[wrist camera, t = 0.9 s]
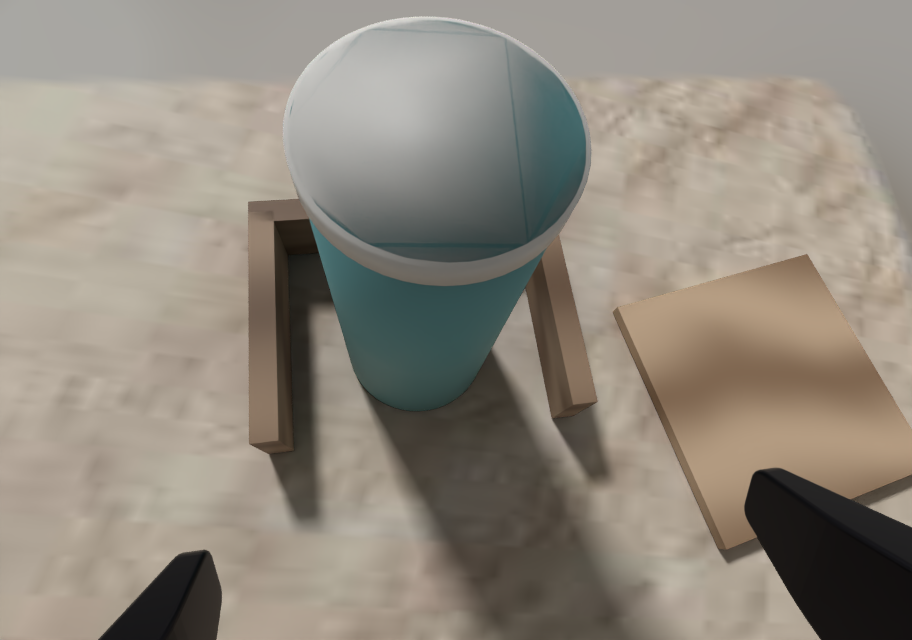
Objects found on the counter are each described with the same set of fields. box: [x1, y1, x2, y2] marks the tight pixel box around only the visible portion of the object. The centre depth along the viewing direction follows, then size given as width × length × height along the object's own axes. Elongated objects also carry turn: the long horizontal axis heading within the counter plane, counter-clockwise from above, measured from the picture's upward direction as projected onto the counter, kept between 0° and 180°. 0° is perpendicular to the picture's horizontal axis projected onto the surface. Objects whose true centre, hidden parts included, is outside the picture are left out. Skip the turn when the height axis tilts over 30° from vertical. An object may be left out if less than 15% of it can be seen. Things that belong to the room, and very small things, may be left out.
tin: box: [283, 17, 591, 411], centre depth 17 cm, size 6×6×14 cm
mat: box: [613, 254, 912, 550], centre depth 24 cm, size 11×11×1 cm
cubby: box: [248, 199, 598, 454], centre depth 22 cm, size 10×13×3 cm
